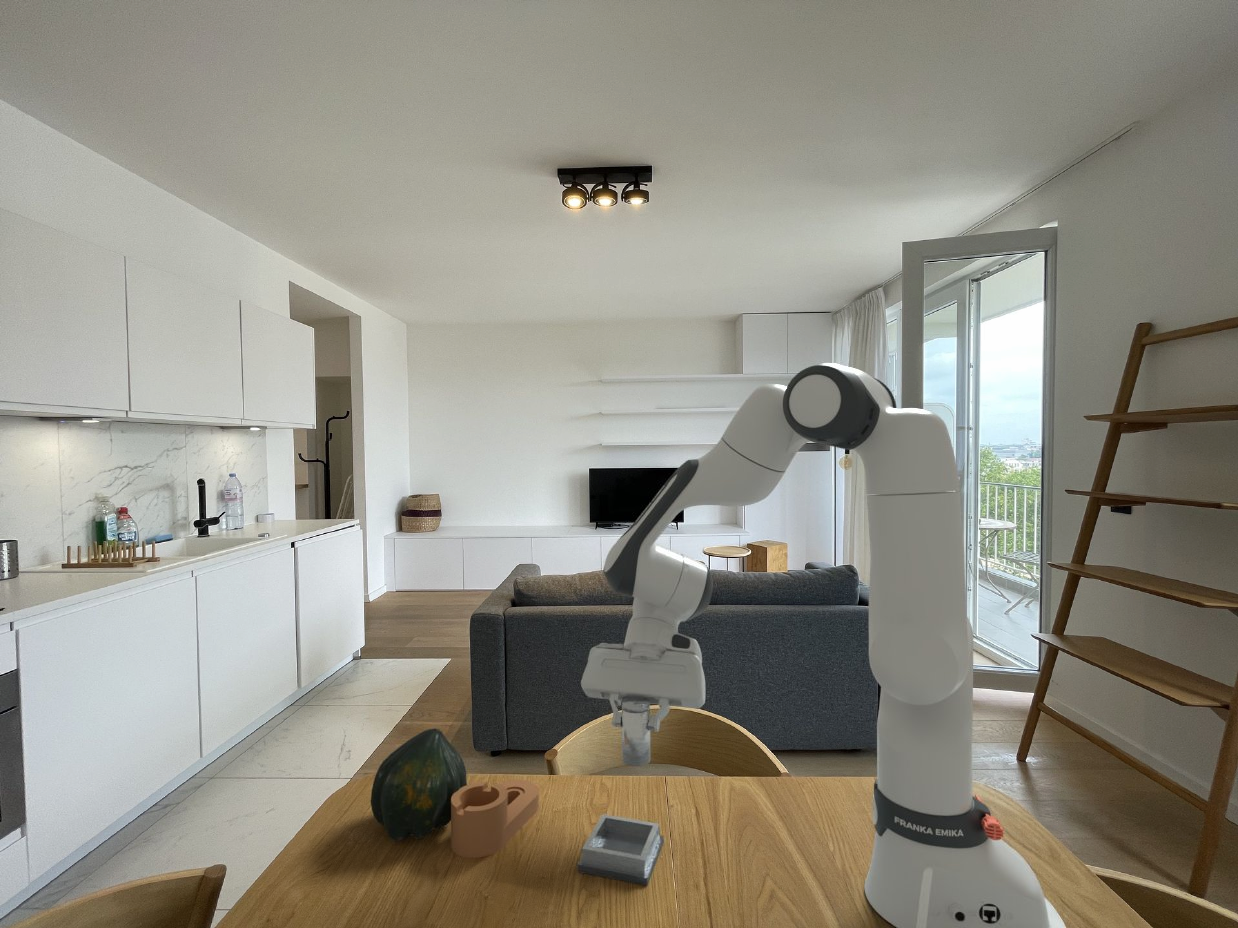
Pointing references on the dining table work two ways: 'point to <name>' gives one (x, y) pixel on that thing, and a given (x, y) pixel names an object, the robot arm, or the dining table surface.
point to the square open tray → (622, 849)
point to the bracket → (490, 815)
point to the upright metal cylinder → (635, 731)
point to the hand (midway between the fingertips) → (634, 727)
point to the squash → (417, 786)
